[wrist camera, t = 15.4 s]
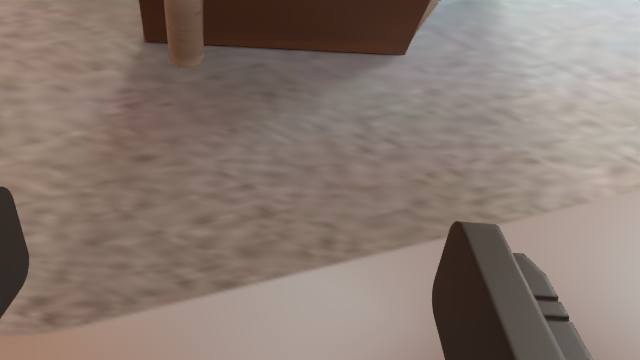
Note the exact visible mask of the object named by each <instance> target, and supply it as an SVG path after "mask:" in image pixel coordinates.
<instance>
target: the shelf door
mask: <svg viewBox="0 0 640 360" xmlns="http://www.w3.org/2000/svg"><path fill="white" fill-rule="evenodd" d="M430 1H431V0H139V4H140V10H141V17H142V24H143V31H144V38H145V41H155V42H168V50H169V57H170V60H171V61H172V62H173V63H174V64H175V65H177V66H179V67H183V68H192V67H195V66H197V65H199V64H200V63H201V61H202V60H203V56H204V44H211V45H230V46H248V47H267V48H286V49H305V50H323V51H342V52H361V53H379V54H398V55H405V53H406V51H407V49H408V47H409V45H410V42H411V40H412V38H413V36H414V34H415V32H416V30H417V28H418V26H419V24H420V22H421V20H422V18H423V15H424V13H425V11H426V9H427V7H428V5H429V3H430Z"/></svg>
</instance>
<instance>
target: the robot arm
mask: <svg viewBox="0 0 640 360" xmlns="http://www.w3.org/2000/svg"><path fill="white" fill-rule="evenodd" d="M28 268H29V254H28V250H27V246H26V243H25V239H24V235H23V232H22V228H21V225H20V221H19V217H18V214H17V210H16V207H15V203H14V199H13V197H12V194H11V193H10V191H9V190H8V189H7V188H5V187H0V318H1V317H2V315H3V314H4V312H5V311H6V309H7V308H8V307H9V305H10V304H11V302H12V301H13V299H14V298H15V297H16V295H17V294H18V292H19V291H20V289H21V288H22V286H23V284H24V282H25V279H26V277H27V273H28ZM432 307H433V314H434V318H435V322H436V326H437V330H438V333H439V337H440V341H441V345H442V349H443V353H444V357H445V360H593V359H592V357H591V356H590V354H589V352H588V350H587V348H586V346H585V345H584V343H583V341H582V339H581V338H580V336H579V334H578V332H577V330H576V328H575V327H574V325H573V323H572V322H569V316H568V314H567V312H566V311H565V309H564V307H563V306H562V303H561V302H558V296H557V294H556V292H555V291H554V289H553V287H552V285H551V283H550V282H549V280H548V278H547V276H546V274H545V273H543V272H542V271H541V270H540V269H539V268H538V267H537V266H536V265H535V264H534V263H533V262H532V261H531V260H530V259H529V258H527V257H526V256H525V255H524V254H520V253H512V252H511V250H510V248H509V246H508V244H507V242H506V240H505V238H504V236H503V234H502V232H501V230H500V228H499V227H498V226H497V225H495V224H484V223H471V222H458V221H456V222H454V223H453V224H452V226H451V228H450V230H449V233H448V237H447V240H446V243H445V247H444V250H443V253H442V257H441V260H440V263H439V266H438V270H437V273H436V276H435V280H434V284H433V291H432Z"/></svg>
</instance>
